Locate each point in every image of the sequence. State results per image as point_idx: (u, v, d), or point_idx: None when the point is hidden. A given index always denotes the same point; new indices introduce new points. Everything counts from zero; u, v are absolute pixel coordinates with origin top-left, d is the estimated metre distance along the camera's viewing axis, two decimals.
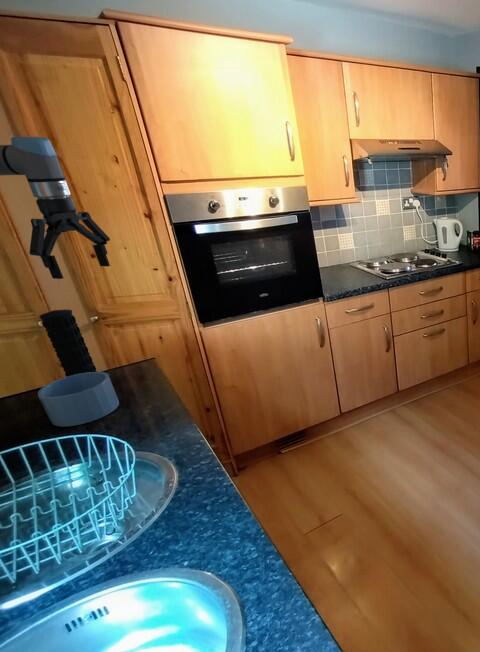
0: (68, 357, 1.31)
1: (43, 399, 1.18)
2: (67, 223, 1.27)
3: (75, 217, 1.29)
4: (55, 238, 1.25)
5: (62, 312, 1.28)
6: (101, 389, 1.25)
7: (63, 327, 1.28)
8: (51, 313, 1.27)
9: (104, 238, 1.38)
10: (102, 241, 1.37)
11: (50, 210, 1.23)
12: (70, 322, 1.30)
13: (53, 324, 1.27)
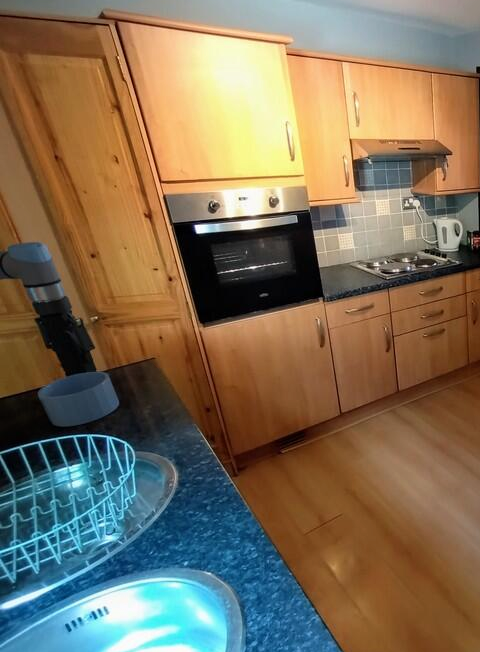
0: (68, 357, 1.31)
1: (43, 399, 1.18)
2: None
3: None
4: None
5: None
6: (101, 389, 1.25)
7: (63, 327, 1.28)
8: None
9: None
10: None
11: (70, 306, 1.29)
12: None
13: (53, 324, 1.27)
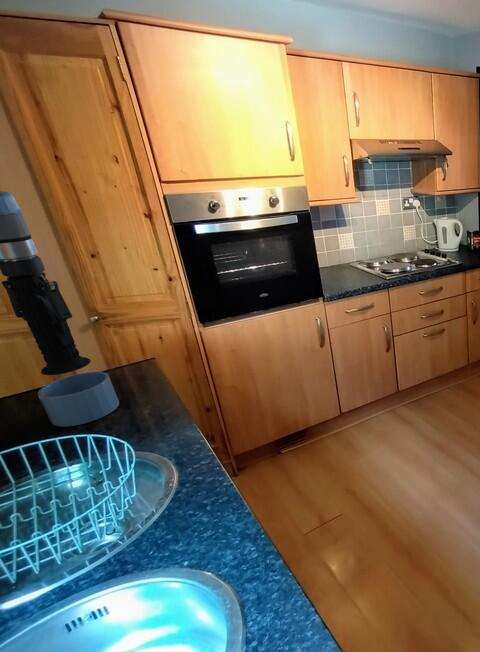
0: (41, 326, 1.14)
1: (43, 399, 1.18)
2: None
3: None
4: None
5: None
6: (101, 389, 1.25)
7: (34, 291, 1.12)
8: None
9: None
10: None
11: (42, 268, 1.13)
12: None
13: (23, 288, 1.10)
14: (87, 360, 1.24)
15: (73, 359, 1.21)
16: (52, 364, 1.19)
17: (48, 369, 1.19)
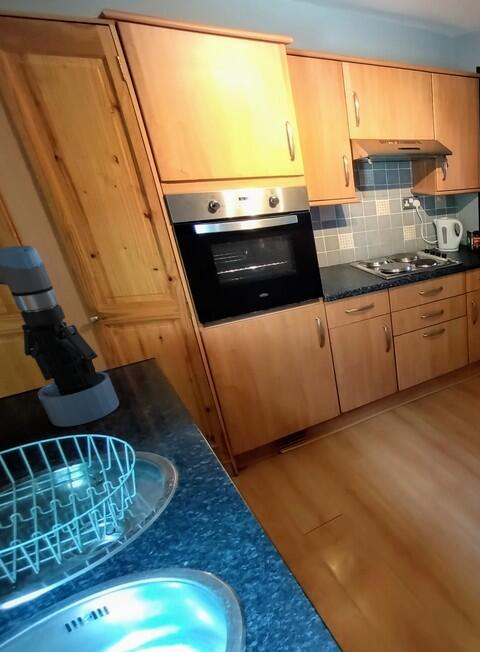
0: (62, 374, 1.20)
1: (43, 399, 1.18)
2: None
3: None
4: None
5: None
6: (101, 389, 1.25)
7: None
8: (43, 326, 1.16)
9: None
10: None
11: (63, 316, 1.18)
12: (64, 336, 1.19)
13: (46, 339, 1.16)
14: None
15: None
16: None
17: None
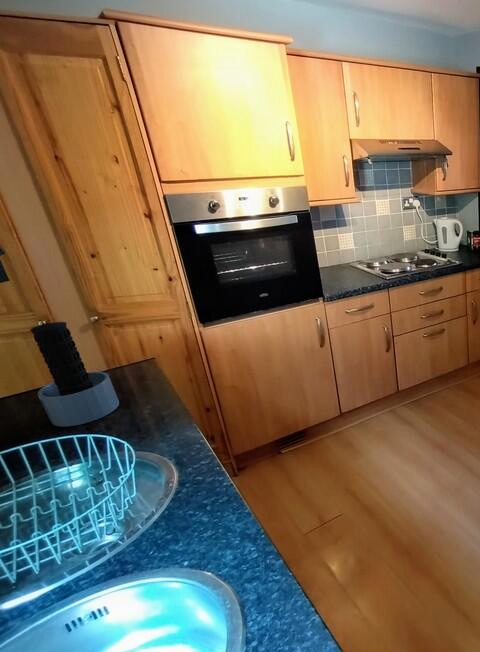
0: (62, 374, 1.20)
1: (43, 399, 1.18)
2: None
3: None
4: None
5: (55, 325, 1.17)
6: (101, 389, 1.25)
7: (56, 341, 1.17)
8: (43, 326, 1.16)
9: None
10: None
11: None
12: (64, 336, 1.19)
13: (46, 339, 1.16)
14: None
15: None
16: None
17: None
